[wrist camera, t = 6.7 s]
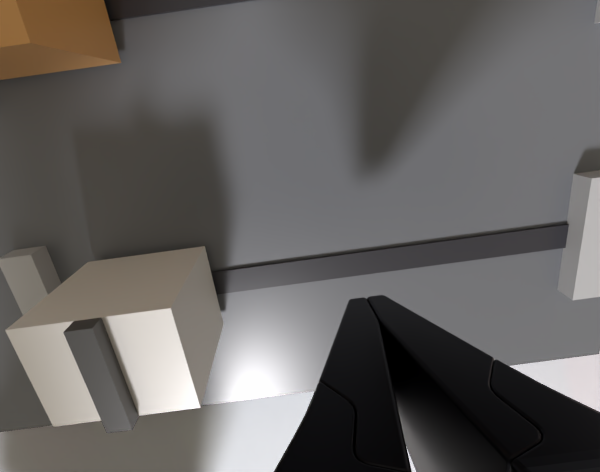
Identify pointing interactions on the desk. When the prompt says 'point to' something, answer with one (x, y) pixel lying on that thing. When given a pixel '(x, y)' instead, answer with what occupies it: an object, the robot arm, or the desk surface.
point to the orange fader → (54, 36)
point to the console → (319, 175)
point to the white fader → (123, 339)
